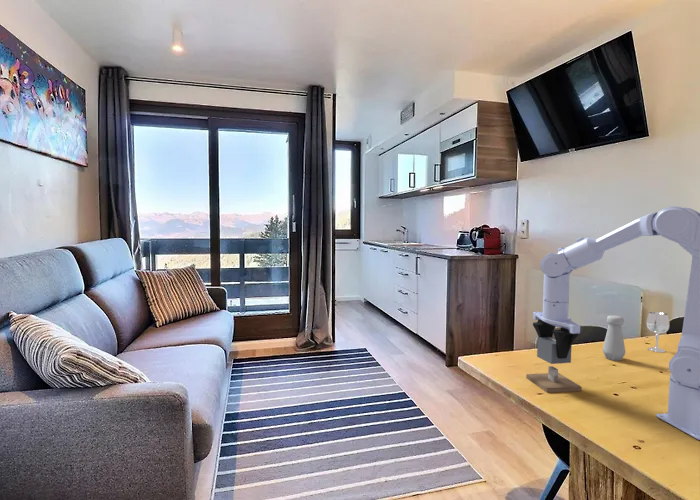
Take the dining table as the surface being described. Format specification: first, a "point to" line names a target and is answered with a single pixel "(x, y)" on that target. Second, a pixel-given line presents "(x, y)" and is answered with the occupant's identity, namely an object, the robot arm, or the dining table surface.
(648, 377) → the dining table surface
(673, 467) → the dining table surface
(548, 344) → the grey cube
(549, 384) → the base
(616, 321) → the salt shaker
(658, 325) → the wineglass
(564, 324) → the robot arm
